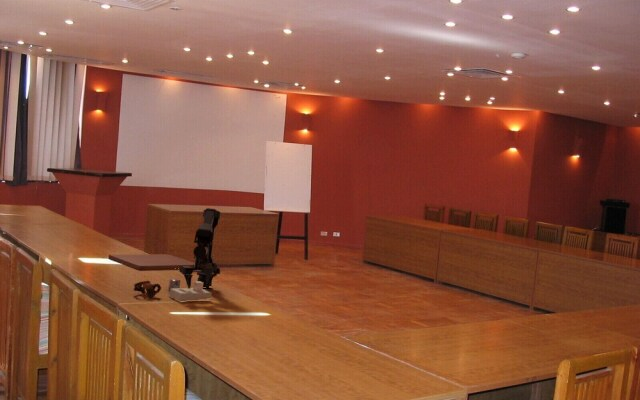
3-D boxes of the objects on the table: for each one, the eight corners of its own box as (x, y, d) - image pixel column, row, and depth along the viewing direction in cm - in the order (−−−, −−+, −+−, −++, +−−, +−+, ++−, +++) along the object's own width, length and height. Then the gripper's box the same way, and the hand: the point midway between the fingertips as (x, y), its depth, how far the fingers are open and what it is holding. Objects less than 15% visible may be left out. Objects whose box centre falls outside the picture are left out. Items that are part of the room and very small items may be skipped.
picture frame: (108, 259, 399) (138, 271, 376) (108, 254, 399) (139, 265, 376) (167, 259, 428) (199, 269, 405) (168, 254, 428) (200, 264, 405)
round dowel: (175, 291, 335) (177, 278, 335) (180, 293, 331) (182, 281, 331) (166, 291, 332) (167, 278, 332) (171, 293, 328) (172, 281, 328)
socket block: (199, 296, 331) (200, 288, 330) (210, 301, 323) (211, 292, 323) (169, 297, 320) (170, 288, 320) (179, 302, 313) (180, 293, 313)
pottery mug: (137, 300, 309) (133, 282, 311) (135, 305, 317) (131, 287, 319) (164, 294, 313) (160, 276, 316) (161, 299, 322) (157, 282, 324)
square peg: (197, 298, 326) (200, 281, 326) (201, 299, 324) (203, 282, 323) (191, 298, 324) (193, 281, 324) (195, 299, 322) (197, 282, 321)
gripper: (192, 258, 311) (188, 292, 312) (228, 258, 323) (224, 291, 324) (180, 253, 319) (176, 287, 320) (215, 254, 331) (211, 286, 332)
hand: (197, 288), depth 324 cm, fingers open, 9 cm apart
